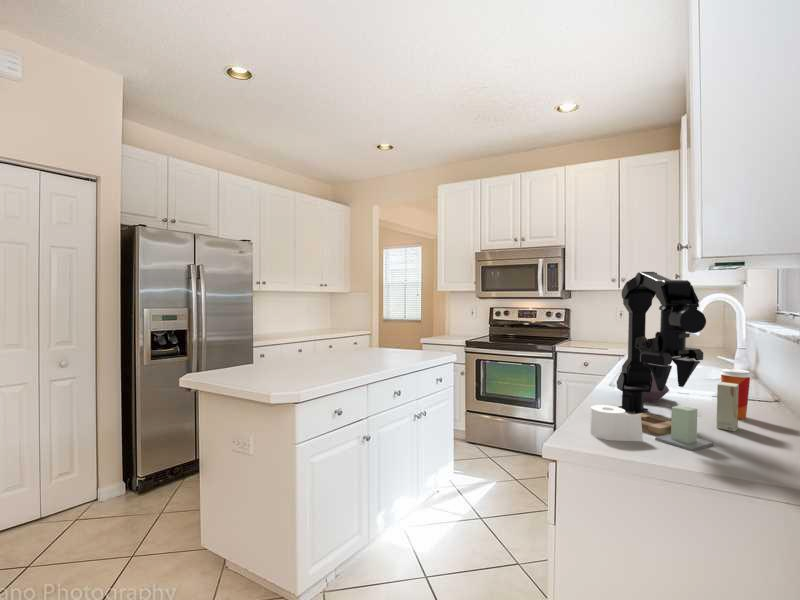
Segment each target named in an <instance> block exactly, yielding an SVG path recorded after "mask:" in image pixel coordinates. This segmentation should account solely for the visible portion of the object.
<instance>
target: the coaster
mask: <svg viewBox="0 0 800 600" xmlns="http://www.w3.org/2000/svg"><path fill="white" fill-rule="evenodd" d="M654 440H655V441H658V442H662V443H664V444H667V445H671V446H675V447H679V448H682V449H685V450H688V451H691V452H694V451H697V450H700V449H701V450H702V449H705V448H708V447H711V446H713V445H714V442H711V441H709V440H705V439H701V438H698V437H697V441H695V442H692V443H688V444H687V443H684V442H680V441H677V440H673V439H671V433H670V434H666V435H662V436H656V437H654Z"/></svg>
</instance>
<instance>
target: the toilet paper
mask: <svg viewBox="0 0 800 600" xmlns="http://www.w3.org/2000/svg"><path fill="white" fill-rule="evenodd" d="M589 422H590V423H589V424H590V426H589V427H590V428H589V429H590V430H589V434H590V435H591V436H593V437H595V438H597V439H601V440H607V441H618V442H619V441H623V442H625V441H627V442H643V441H644V437H643V431H642V424H641V415H634V414H628V413H627V414H626V410H624V409H622V408H619V407H618V406H615V405H606V404H596V405H592V406H590V420H589Z"/></svg>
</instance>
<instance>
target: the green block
mask: <svg viewBox="0 0 800 600" xmlns="http://www.w3.org/2000/svg"><path fill="white" fill-rule="evenodd" d="M670 417H671V418H670V419H671V433H670V434H671V439H673V440H677V441H680V442H684V443H687V444H688V443H692V442H695V441H697V438H698V437H697V434H698V408H695V407H692V406H691V407H690V406H686V405H682V404H681V405H675V406H672V407H671V416H670Z"/></svg>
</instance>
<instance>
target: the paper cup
mask: <svg viewBox="0 0 800 600" xmlns="http://www.w3.org/2000/svg"><path fill="white" fill-rule="evenodd" d="M719 374H720V379H721V382H726V383H734V384H739V392H738V420H745V419H746V418H747V410H748V402H749V391H750V381H751V378H752V375H751V373H750V371H748V370H743V369H736V368H735V369H733V368H723V369H721V371H720V373H719Z"/></svg>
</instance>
